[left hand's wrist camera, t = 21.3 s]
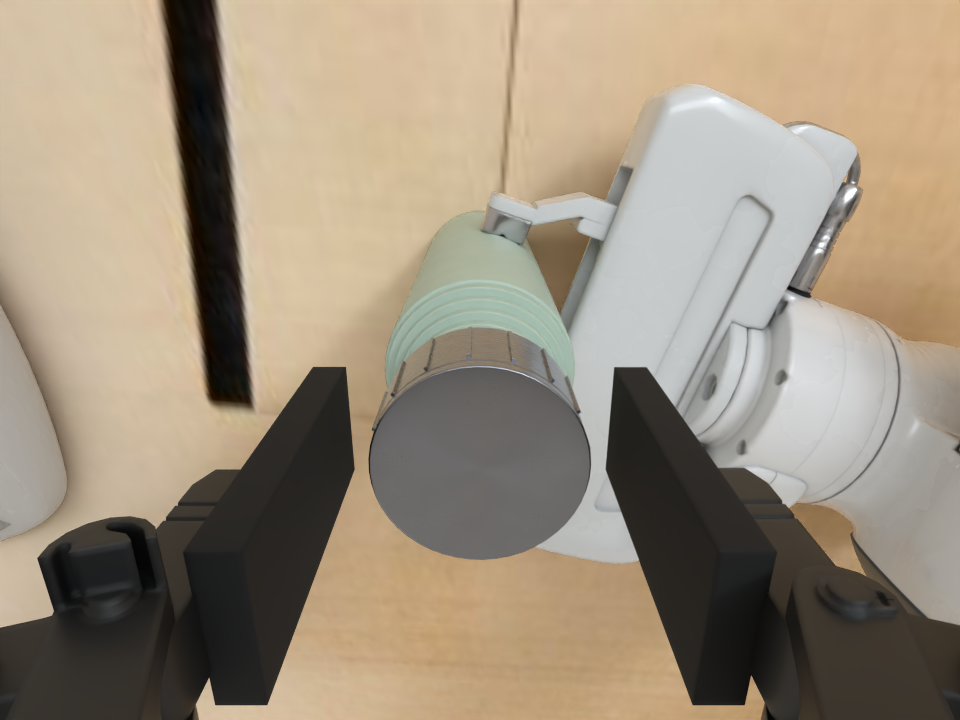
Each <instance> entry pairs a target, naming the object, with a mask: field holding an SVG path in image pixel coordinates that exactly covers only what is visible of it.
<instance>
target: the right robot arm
mask: <svg viewBox="0 0 960 720" xmlns="http://www.w3.org/2000/svg"><path fill="white" fill-rule="evenodd" d="M860 172H861V164H860V158H859V154H858V152H857V147H856V146H855V145H854V144H853V143H852V142H851V141H850V140H849V139H848V138H846V137H845V136H844V135H842V134H839V133H837V132H834V131H832V130H829V129H827V128H824V127H821V126H819V125H816V124H814V123H811V122H806V121H796V122H790V123H787V124H784V125H781V124H779V123H778V122H776V121H774V120H773V119H771V118H769V117H768V116H766V115H764V114H762V113H761V112H759V111H757V110H755V109H753V108H752V107H750V106H748V105H746V104H744V103H742V102H740V101H738V100H736V99H734V98H732V97H730V96H728V95H725V94H723V93H721V92H719V91H717V90H714V89H712V88H709V87H707V86H704V85H700V84H680V85H677V86H674V87H671V88H669V89H666V90H664V91H662V92H660V93H658V94H656V95H654V96H652V97H650V98H649V99H648V100H647V101H646V102H645V103H644V105H643V107H642V110H641V112H640V114H639V117H638V119H637V122H636V124H635V127H634V129H633V132H632V134H631V137H630V139H629V142H628V144H627V147H626V149H625V152H624V154H623V157H622V159H621V162H620V164H619V167H618V169H617V172H616V174H615V177H614V179H613V182H612V184H611V187H610V189H609V192H608V194H607V197H606V199H605V200H603V199H600V198H597V197H594V196H591V195H589V194H586V193H583V192H576V193H571V194H567V195H562V196H557V197H552V198H548V199H543V200H538V201H534V203H533V204H531V203H528V202H525V201H522V200H519V199H516V198H513V197H511V196H508V195H505V194H502V193H498V192H494V191H492V192H491V195H490V198H489V201H488V204H487V207H486V210H485V214H484V217H483V220H482V223H481V230H483V231H485V232H487V233H489V234H493V235H497V236H498V235H502V234H504V236H505V237H506V239H509V240H511V241H513V242H515V243H518V244H521V245H523V244H524V241H525V239H526V236H527V234H528V231H529V228H530V226H535V225H540V224H545V223H550V222H556V221H561V220H566V219H570V223H571V225H572V226H573V227H574V228H575V229H576V230H577V231H578V232H579V233H581V234H584V235H587V236H590V240H589V242H588V245H587V247H586V250H585V252H584V255H583V257H582V260H581V262H580V265H579V267H578V270H577V272H576V275H575V277H574V280H573V282H572V285H571V287H570V290H569V292H568V295H567V297H566V300H565V302H564V305H563V307H562V310H561V312H560V317H561V319H562V321H563V324H564V326H565V328H566V331H567V333H568V335H569V338H570V340H571V344H572V347H573V351H574V359H575V376H574V382H573V387H572V388H573V391H574V394H575V396H576V399H577V402H578V405H579V408H580V410H581V413H579V415H580V418H581V421H582V423H583V426H584V429H585V432H586V435H587V438H588V441H589V444H590V449H591V450H590V452H591V471H590V479H589V483H588V486H587V490H586V492H585V495H584V497H583V499H582V502H581V504H580V505H579V507H578V508H577V510H576V512H575V513H574V515H573V516H572V517H571V518H570V520H569V521H568V522H567V523H566V524H565V525H564V526H563V527H562V528H561V529H560V530H559V531H558V532H557V533H556V534H554V535H553V536H552V537H550V538H549V539H548V540H546V541H544V542H543V543H541V544H539V545H537V546H536V547H534V548H538V549H542V550H545V551H549V552H553V553H558V554H562V555H566V556H571V557H575V558H580V559H585V560H591V561H596V562H603V563H611V564H625V563H632V562H637V561H639V559H638V556H637V553H636V551H635V548H634V545H633V542H632V540H631V537H630V534H629V532H628V529H627V526H626V524H625V521H624V518H623V515H622V513H621V510H620V507H619V505H618V502H617V499H616V497H615V494H614V491H613V488H612V486H611V483H610V480H609V478H608V475H607V472H606V470H605V469H606V457H607V445H608V434H609V422H610V410H611V398H612V387H613V375H614V367H647V368H648V369H649V371H650V372H651V374H652V375H653V377H654V378H655V379H656V381H657V382H658V384H659V385H660V386H661V388H662V389H663V391H664V392H665V394H666V395H667V396H668V398H669V399H670V401H671V402H672V403H673V405H674V406H675V408H676V409H677V411H678V412H679V413H680V415H681V416H682V418H683V419H684V420H685V422H686V423H687V425H688V426H689V428H690V429H691V430H692V432H693V433H694V435H695V436H696V437H697V439H698V440H699V442H700V443H701V445H702V446H703V447H704V449H705V450H706V452H707V453H708V454H709V456H710V457H711V459H712V460H713V462H714V463H715V464H716V466H717V467H718V468H746V469H747V470H749V471H750V472H752V473H753V474H755V475H757V476H758V477H760V478H761V479H763V480H764V481H766V482H767V483H768V484H769V485H770V486H771V487H772V488H773V490H774V491H775V492H776V493H777V495H778V496H779V497H780V498H781V499H782V504H786V506H787V507H788V508H790V507H791V506H793V505H794V504H795V503H799V504H812V505H821V506H825V507H828V508H831V509H833V510H835V511H837V512H839V513H840V514H842V515H843V516H844V517H845V518H847V519H848V520H849V521H850V522H851V523H852V525H853V528H854V532H852V533H851V540H852V543H853V546H854V549H855V552H856V555H857V557H858V559H859V561H860V564H861V566H862V568H863V570H864V572H865V574H866V576H867V577H868V578H870V579H872V580H874V581H876V582H878V583H880V584H881V585H882V586H884V587H885V588H886V589H887V590H889V591H890V592H891V593H892V594H894V595H895V596H896V597H897V599H898V600H899V601H900V603H901V604H902V605H903V607H904V608H905V610H906V611H907V613H909V614H913V615H916V616H920V617H925V618H929V619H934V620H939V621H943V622H948V623H952V624H957V625H960V349H959V348H956V347H953V346H950V345H946V344H942V343H936V342H928V341H909V340H905V339H903V338H901V337H900V336H898V335H897V334H896V333H895V332H894V331H893V330H891V329H890V328H888V327H887V326H885V325H884V324H882V323H881V322H879V321H877V320H875V319H873V318H870V317H868V316H865V315H862V314H859V313H856V312H853V311H850V310H848V309H845V308H842V307H839V306H836V305H833V304H830V303H828V302H825V301H822V300H819V299H816V298H814V297H811V295H810V293H811V291H812V290H813V288H814V286H815V284H816V282H817V280H818V279H819V277H820V275H821V273H822V271H823V270H824V268H825V266H826V264H827V262H828V260H829V258H830V256H831V252H832V250H833V248H834V247H833V245H835V243H836V241H837V240H836V239H837V238H838V236H839V234H840V233H839V232H841V231H842V229H843V227H844V225H845V224H846V222H849V220H850V219H851V218H852V216H853V214H854V213H855V211H856V209H857V207H858V205H859V202H860V200H861V197H862V193H863V189H862V188H861V187H858V186H857V184H858V181H859V177H860ZM847 173H848V177H847V181H846V183H845V182H843V181H844V179H845V177H846V175H847Z"/></svg>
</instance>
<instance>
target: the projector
mask: <svg viewBox="0 0 960 720" xmlns="http://www.w3.org/2000/svg"><path fill="white" fill-rule="evenodd" d="M66 491H67V476H66V470H65V466H64V462H63V458H62V453H61V450H60V446H59V443H58V440H57V437H56V433H55V430H54V427H53V424H52V421H51V418H50V415H49V413H48V410H47V407H46V404H45V401H44V399H43V396H42V394H41V391H40V389H39V386H38V384H37V381H36V379H35V376H34V374H33V371H32V369H31V367H30V364H29V362H28V360H27V358H26V356H25V353H24V351H23V349H22V347H21V345H20V343H19V340H18V338H17V336H16V334H15V332H14V330H13V328H12V326H11V324H10V322H9V320H8V318H7V316H6V314H5V313H4V311H3V309H2V307H1V305H0V541H2V540H5V539H8V538H11V537H13V536H16V535H19V534H21V533H24V532H26V531H28V530H30V529H32V528H34V527H36V526H38V525H39V524H41V523H42V522H44V521H45V520H47V519H48V518H49V517H50V516H51V515H52V514H53V513H54V512H55V511H56V510H57V508H58V507H59V506H60V504H61V503H62V501H63V499H64V497H65V495H66Z"/></svg>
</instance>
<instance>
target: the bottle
mask: <svg viewBox="0 0 960 720" xmlns="http://www.w3.org/2000/svg"><path fill="white" fill-rule="evenodd" d="M484 214H485V211H474V212H468V213H465V214H462V215H459V216H457V217H455V218H453V219H452V220H450V221H449V222H447V223H446V224H445V225H444V226H443V227H442V228H441V229H440V230H439V231H438V232H437V234H436V235H435V237H434V239H433V241H432V243H431V245H430V247H429V250H428V252H427V254H426V256H425V259H424V261H423V263H422V266H421V268H420V270H419V273H418V275H417V277H416V279H415V282H414V284H413V286H412V289H411V291H410V293H409V296H408V298H407V300H406V302H405V305H404V307H403V309H402V312H401V314H400V316H399V319H398V321H397V323H396V325H395V328H394V330H393V332H392V335H391V337H390V340H389V343H388V346H387V352H386V357H385V376H386V383H387V387H388V391H389V388H390V385H391V383H392V381H393V379H394V376H395V375H396V373H397V371H398V370H399V367H400V364H401V362H402V361H405V360H406V359H407V358H408V357H409V356H410V355H411V354H412V353H413V352H414V351H415V350H417V349H418V348H419V347H421V346H422V345H423V344H425V343H426V342H428V341H430V338H432V337H434V338H436V337H438V336H440V335H443V334H445V333H448V332H451V331H455V330H460V329H465V328H468V327H472V328H476V327H479V328H494V329H500V330H505V331H508V330H509V331H512V333H515V334H517V335H520V336H522V337H524V338H526V339H528V340H530V341H532V342H533V343H535V344H537V345H538V346H539V347H541V348H542V349H543V348H545V349H546V351H547V353H548V354H549V355H550V356H551V357H552V358H553V359H554V360H555V362H556V363H557V364H558V366H559V367H560V368H561V370H562V371H563V373H564V375H565V377H566V376H568V377H569V380H570V382H571V385H572V387H573V382H574V376H575V359H574V351H573V347H572V344H571V340H570V338H569V335H568V333H567V331H566V328H565V326H564V324H563V321H562V319H561V317H560V315H559V312H558V310H557V308H556V305H555V303H554V301H553V298H552V296H551V294H550V291H549V289H548V287H547V284H546V282H545V280H544V277H543V275H542V273H541V270H540V268H539V266H538V263H537V261H536V259H535V257H534V254H533V252H532V250H531V247H530V245H529V243H528V240H527V239H525V241H524V244H523V245H521V244H518V243H515V242H513V241H511V240H509V239H506V237H505V236H504V234H502V235H498V236H497V235H493V234H489V233H487V232H485V231H483V230H481V223H482V220H483V217H484Z"/></svg>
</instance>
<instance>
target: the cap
mask: <svg viewBox="0 0 960 720" xmlns="http://www.w3.org/2000/svg"><path fill="white" fill-rule="evenodd" d="M579 413H581V410H580V408H579V405H578V402H577V399H576V396H575V394H574V391H573V388H572V385H571V382H570V380H569V377H568V376H566V377H565V375H564V373H563V371H562V370H561V368H560V367H559V366H558V364H557V363H556V362H555V360H554V359H553V358H552V357H551V356H550V355H549V354H548V353H547V351H546V349H545V348H543V349H542V348H541V347H539V346H538V345H537V344H535V343H533V342H532V341H530V340H528V339H526V338H524V337H522V336H520V335H517V334H515V333H512V331H509V330H508V331H505V330H500V329H494V328H479V327H476V328H472V327H468V328H465V329H460V330H455V331H451V332H448V333H445V334H443V335H440V336H438V337H436V338H434V337H432V338H430V341H428V342H426V343H425V344H423V345H422V346H421V347H419V348H418V349H417V350H415V351H414V352H413V353H412V354H411V355H410V356H409V357H408V358H407V359H406V360H405V361H402V362H401V364H400V367H399V370H398V371H397V373H396V375H395V376H394V379H393V381H392V383H391V385H390V388H389V391H388V392H385V395H384V397H383V400H382V403H381V406H380V408H379V411H378V414H377V417H376V419H375V422H374V425H373V428H372V431H374V433H373V437H372V441H371V444H370V451H369V474H370V479H371V484H372V487H373V490H374V493H375V496H376V498H377V500H378V502H379V504H380V506H381V508H382V509H383V511H384V512H385V513H386V515H387V516H388V518H389V519H390V520H391V521H392V522H393V523H394V524H395V525H396V527H397V528H398V529H400V530H401V531H402V532H403V533H404V534H405V535H407V536H408V537H409V538H411V539H413V540H414V541H416V542H417V543H419V544H421V545H423V546H425V547H427V548H428V549H431V550H433V551H436V552H439V553H441V554H445V555H449V556H453V557H457V558H464V559H480V560H484V559H497V558H502V557H507V556H512V555H515V554H518V553H521V552H524V551H526V550H529V549H531V548H533V547H536V546H537V545H539V544H541V543H543V542H544V541H546V540H548V539H549V538H550V537H552V536H553V535H554V534H556V533H557V532H558V531H559V530H560V529H561V528H562V527H563V526H564V525H565V524H566V523H567V522H568V521H569V520H570V518H571V517H572V516H573V515H574V513H575V512H576V510H577V508H578V507H579V505H580V504H581V502H582V499H583V497H584V495H585V492H586V490H587V486H588V483H589V479H590V471H591V452H590V450H591V449H590V444H589V441H588V438H587V435H586V432H585V429H584V426H583V423H582V421H581V418H580V415H579Z"/></svg>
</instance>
